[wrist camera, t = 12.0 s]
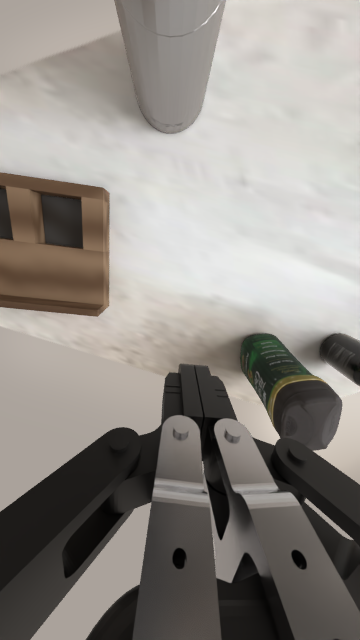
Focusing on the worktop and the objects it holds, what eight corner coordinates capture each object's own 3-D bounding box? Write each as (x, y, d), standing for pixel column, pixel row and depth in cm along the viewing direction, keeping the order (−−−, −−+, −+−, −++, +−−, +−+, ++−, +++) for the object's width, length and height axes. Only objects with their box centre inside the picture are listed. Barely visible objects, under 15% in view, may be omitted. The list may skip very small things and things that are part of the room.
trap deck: (-69, 166, 29) (-127, 147, 23) (109, 192, 31) (95, 181, 25) (-39, 290, 35) (-79, 299, 29) (108, 305, 37) (97, 316, 31)
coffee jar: (238, 334, 40) (289, 402, 23) (278, 330, 40) (359, 394, 23) (238, 375, 43) (283, 462, 26) (274, 371, 44) (344, 455, 26)
